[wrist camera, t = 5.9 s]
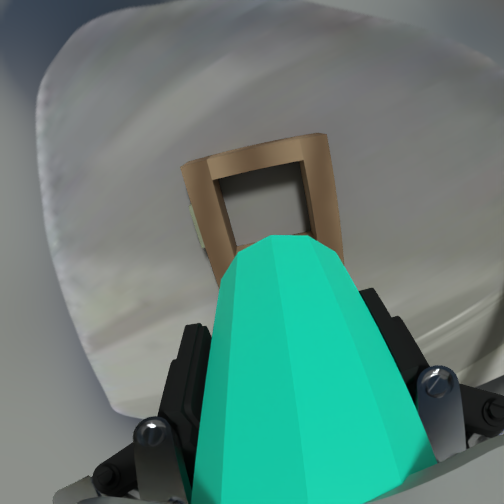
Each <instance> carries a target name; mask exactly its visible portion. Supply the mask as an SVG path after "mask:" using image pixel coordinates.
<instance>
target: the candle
mask: <svg viewBox="0 0 504 504" xmlns="http://www.w3.org/2000/svg"><path fill="white" fill-rule="evenodd" d="M435 464H437V461H436V458H435V455H434V453H433V450H432V447H431V445H430V442H429V439H428V437H427V434H426V432H425V429H424V427H423V424H422V422H421V419H420V417H419V415H418V412H417V410H416V407H415V405H414V403H413V400H412V398H411V396H410V394H409V391H408V389H407V387H406V385H405V383H404V380H403V378H402V376H401V374H400V372H399V370H398V367H397V365H396V363H395V361H394V359H393V357H392V355H391V353H390V351H389V349H388V347H387V345H386V343H385V341H384V339H383V337H382V335H381V333H380V331H379V329H378V327H377V325H376V323H375V321H374V319H373V317H372V316H371V314H370V312H369V310H368V308H367V306H366V304H365V302H364V301H363V299H362V297H361V295H360V293H359V291H358V290H357V288H356V286H355V284H354V283H353V281H352V279H351V277H350V275H349V274H348V272H347V270H346V268H345V267H344V265H343V263H342V262H341V260H340V258H339V256H338V255H337V253H336V252H335V251H333V250H332V249H330V248H328V247H326V246H325V245H323V244H321V243H320V242H318V241H316V240H315V239H313V238H311V237H310V236H308V235H270V236H268V237H266V238H264V239H262V240H260V241H258V242H257V243H255V244H253V245H251V246H249V247H247V248H245V249H243V250H241V251H239V252H238V253H237V255H236V256H235V258H234V259H233V261H232V263H231V264H230V266H229V268H228V269H227V271H226V272H225V274H224V276H223V277H222V279H221V283H220V289H219V295H218V302H217V308H216V314H215V321H214V327H213V334H212V340H211V347H210V354H209V361H208V368H207V375H206V382H205V389H204V397H203V404H202V412H201V420H200V428H199V436H198V444H197V452H196V461H195V470H194V479H193V489H192V498H191V504H363V503H366V502H368V501H370V500H372V499H374V498H376V497H379V496H381V495H383V494H385V493H387V492H389V491H391V490H393V489H395V488H397V487H399V486H400V485H402V484H403V483H404V481H405V480H406V479H407V477H408V476H409V475H411V474H414V473H416V472H419V471H421V470H424V469H426V468H428V467H431V466H433V465H435Z"/></svg>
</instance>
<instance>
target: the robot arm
mask: <svg viewBox="0 0 504 504" xmlns="http://www.w3.org/2000/svg"><path fill="white" fill-rule="evenodd" d="M359 293H360V295H361V297H362V299H363V301H364V302H365V304H366V306H367V308H368V310H369V312H370V314H371V316H372V317H373V319H374V321H375V323H376V325H377V327H378V329H379V331H380V333H381V335H382V337H383V339H384V341H385V343H386V345H387V347H388V349H389V351H390V353H391V355H392V357H393V359H394V361H395V363H396V365H397V367H398V370H399V372H400V374H401V376H402V378H403V380H404V383H405V385H406V387H407V389H408V391H409V394H410V396H411V398H412V400H413V403H414V405H415V407H416V410H417V412H418V415H419V417H420V419H421V422H422V424H423V427H424V429H425V432H426V434H427V437H428V439H429V442H430V445H431V447H432V450H433V453H434V455H435V458H436V461H437V464H435V465H433V466H431V467H428V468H426V469H424V470H421V471H419V472H416V473H414V474H411V475H409V476H408V477H407V479H406V480H405V481H404V483H403V484H402V485H400V486H399V487H397V488H395V489H393V490H391V491H389V492H387V493H385V494H383V495H381V496H379V497H376V498H374V499H372V500H370V501H368V502H366V503H363V504H504V396H502V395H499V394H496V393H492V392H488V391H484V390H480V389H477V388H473V387H469V386H466V385H462V384H459V381H458V378H457V375H456V374H455V373H454V371H453V370H451V369H450V368H448V367H446V366H442V365H435V366H431V367H430V366H429V364H428V363H427V361H426V359H425V357H424V356H423V354H422V352H421V350H420V349H419V347H418V345H417V344H416V342H415V340H414V338H413V337H412V335H411V333H410V332H409V330H408V329H407V327H406V325H405V324H404V322H403V320H402V319H401V318H400V317H399V316H395V317H391V316H390V314H389V312H388V311H387V309H386V307H385V306H384V304H383V302H382V301H381V299H380V298H379V296H378V294H377V293H376V291H375V290H374V288H369V289H365V290H361V291H359ZM211 340H212V337H211V335H210V333H209V330H208V328H207V327H206V326H202V324H201V323H197V324H190V325H186V326H185V329H184V333H183V336H182V340H181V344H180V348H179V352H178V355H177V359H175V360H173V361H172V362H171V365H170V368H169V372H168V376H167V380H166V384H165V387H164V391H163V395H162V399H161V403H160V407H159V412H158V416H153V417H148V418H146V419H143V420H142V421H141V422H139V423H138V425H137V426H136V427H135V430H134V432H133V443H131V444H130V445H128V446H127V447H125V448H124V449H122V450H121V451H119V452H118V453H116V454H115V455H113V456H112V457H111V458H109V459H107V460H106V461H104V462H103V463H101V464H100V465H99V466H98V467H97V468H96V469H95V471H94V473H93V476H92V477H90V476H89V475H88V476H86V477H84V478H82V479H81V480H79V481H77V482H75V483H73V484H70V485H69V486H66V487H64V488H62V489H60V490H58V491H57V492H56V493H55V495H54V497H53V504H191V498H192V489H193V479H194V470H195V461H196V452H197V444H198V436H199V428H200V420H201V412H202V404H203V397H204V389H205V382H206V375H207V368H208V361H209V354H210V347H211Z"/></svg>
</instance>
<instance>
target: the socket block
mask: <svg viewBox="0 0 504 504" xmlns="http://www.w3.org/2000/svg"><path fill="white" fill-rule="evenodd" d="M295 161H299V164H300V169H301V174H302V179H303V185H304V190H305V196H306V201H307V207H308V213H309V219H310V225H311V231H308V232H303V233H298V234H294V235H308V236H310V237H311V238H313V239H315V240H316V241H318V242H320V243H321V244H323V245H325V246H326V247H328V248H330V249H332V250H333V251H335V252H336V253H337V255H338V256H339V258H340V260H341V262H342V263H343V265H344V257H343V246H342V236H341V227H340V218H339V210H338V202H337V195H336V188H335V181H334V174H333V168H332V162H331V156H330V150H329V145H328V139H327V134H322V133H314V134H308V135H302V136H296V137H291V138H285V139H280V140H275V141H270V142H265V143H261V144H256V145H252V146H247V147H243V148H239V149H235V150H231V151H226V152H223V153H219V154H215V155H211V156H207V157H204V158H200V159H196V160H193V161H189V162H187V163H186V164H184V165H183V166H181V167H180V168H181V171H182V175H183V178H184V181H185V185H186V188H187V191H188V195H189V198H190V201H191V204H190V205H189V210H190V213H191V216H192V219H193V222H194V226H195V229H196V232H197V235H198V238H199V241H200V244H201V247H202V248H206V251H207V254H208V257H209V260H210V263H211V266H212V269H213V272H214V275H215V278H216V281H217V284H218V286H219V289H220V283H221V279H222V277H223V276H224V274H225V272H226V271H227V269H228V268H229V266H230V264H231V263H232V261H233V259H234V258H235V256H236V255H237V253H238V252H239V251H241V250H243V249H245V248H247V247H249V246H251V245H253V244H255V243H251V244H246V245H242V246H237V245H236V242H235V238H234V235H233V231H232V228H231V224H230V220H229V217H228V213H227V210H226V206H225V202H224V199H223V195H222V191H221V188H220V184H219V181H218V179H219V178H223V177H227V176H231V175H235V174H239V173H244V172H248V171H252V170H257V169H261V168H266V167H271V166H275V165H280V164H285V163H290V162H295ZM256 243H257V242H256Z"/></svg>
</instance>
